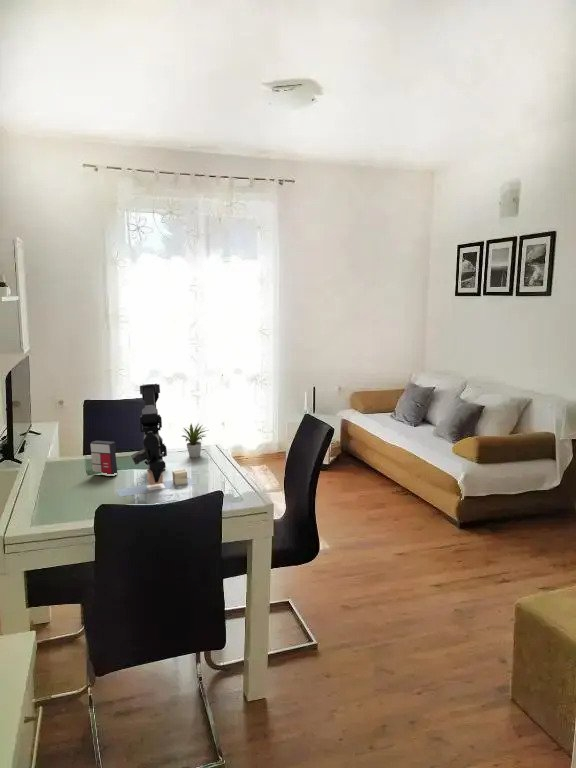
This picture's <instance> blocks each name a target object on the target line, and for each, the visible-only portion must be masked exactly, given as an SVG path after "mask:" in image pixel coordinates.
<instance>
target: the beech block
mask: <svg viewBox="0 0 576 768" xmlns="http://www.w3.org/2000/svg"><path fill="white" fill-rule="evenodd" d="M171 473H172V480H173V483H174V484H175V485H181V484H187V483H188V480H187V478H188V471H187V470H186V469H185V468H177V469H173V470H172V471H171Z"/></svg>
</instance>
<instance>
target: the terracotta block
mask: <svg viewBox="0 0 576 768" xmlns="http://www.w3.org/2000/svg"><path fill="white" fill-rule="evenodd" d="M147 482H148V484H150V485H155V484H161V483H163V482H164V480H163V472H162V473H161V475H160V478H159V481H158V482H157V483H155V480H154V477H153V473H152V471H151V470H149V469H147Z"/></svg>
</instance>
